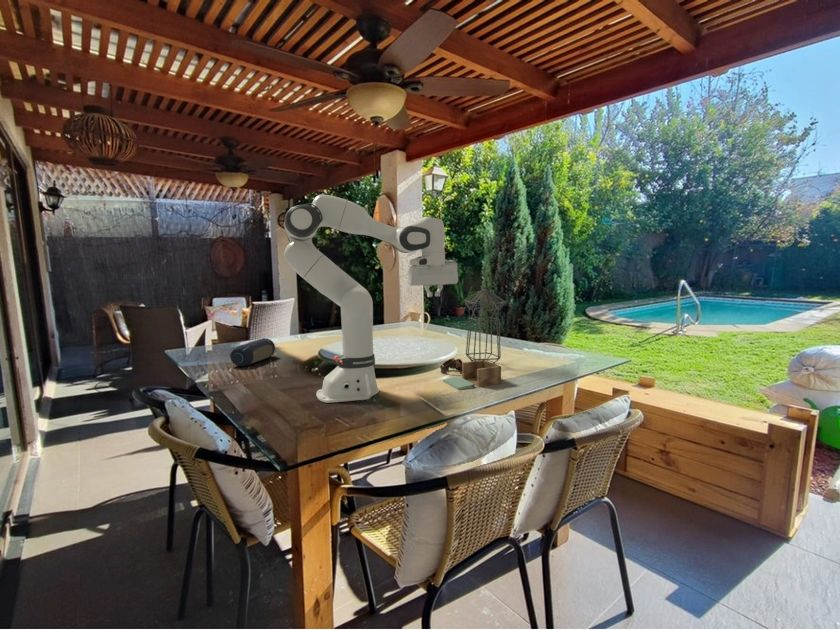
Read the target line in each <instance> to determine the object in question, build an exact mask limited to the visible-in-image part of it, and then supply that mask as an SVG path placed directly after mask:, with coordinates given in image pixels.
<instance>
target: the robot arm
mask: <svg viewBox="0 0 840 630" xmlns="http://www.w3.org/2000/svg"><path fill="white" fill-rule="evenodd" d="M367 211H368V210H366V208H365V207H363V206H361V205H359V204H357V203H356V202H353V201H350V200H347V199H345V198H341V197H338V196H334V195H328V194H323V193H322V194H318V195H316V196H315V198H314V199H313V200H312V202H311V203H304V204H298V205H295V206H292V207H291V208H289V209H288V210H287V211H286V213H285V216H284V222H283V226H284V227H283V228H284V231H285V235H286V237H287V240H288V242H289V243H288V244H287V246H285V247H284V248H285V249H284V252H283V258H284V260H285V262H286V263H287V264H288V266H289V267H290V268H292V270H293V271H294V272H295V273H297V275H299V276H300V277H301V278H302V279H303V280H304V281H306V282H307V283H308V284H310V286H312V287H313V288H314V289H316V290H317V291H318V292H319V293H320V294H322V295H323V296H325V297H327V298H328V299H329V300H330V301H332V302H333V303H334V304H336V305H337V306H339V307H340V319H341V321H340V322H341V341H342V342H341V343H342V355H341V356H339V355H335V356H334V357H333V361H335V362H336V363H337V365H336V367H335V368H334V369H332V370H331V371H330V372H329V373H328V374H327V375H326V376H324V378H323V382H322V388H321V389H318V390H317V391H316V392H315V393H316V397H317V399H318V401H320V402H323V403H328V404H329V403H330V404H331V403H339V402H340V403H341V402H352V401H354V402H355V401H365V400H369V399H371V397H373V396H375V395H376V394H378V393H379V392H380V389H379V388H378V387H379V386H378V383H377V380H376V379H377V378H376V373H375V368H376V357H375V353H374V332H373V331H374V329H373V328H374V306H373V305H374V304H373V303H374V301H373V298H372V295H371V294H370V292H369V291H368V290H367V288H365V287H364V286H362V285H361V284H360V283H359V282H358V281H356V280H355V279H354V278H353V277H351V276H350V275H349V274H348V273H346V272H345V271H344V269H342V268H340V267H339V266H338V265H337V264H335V262H333V261H332V260H331V259H330V258H328V257H327V256H326V255H325V254H324V253H322V252H321V251H320V250H319V249H318V248H317V247H316V246H315V245H314V243H313V240H314V238H315V236H316V233H317V232H318V230H319V228H322V227H327V228H329V227H330V228H332V229H334V230H337V231H340V232H343V233H347V234H352V235H361V236H370V237H372V238H375V239H378V240H381V241H383V242H386V243H388V244H390V245H391V246H392V247H394V249H395V250H397V251H398V252H400V253H402V254H409V253H413V252H416V251H418V250H419V251H421V255H420V256H417V257H414V258H412V259H410V260H409V265H410V267H409V268H408V271H407V283H408V285H409V286H414V287H415V286H416V287H418V286H423V288H424V290H425V292H426V296H427V297H428V298H432V297H433V292H431V290H430V288H431V286H436V287H437V290H436V291H434V297H436V298H437V297H441V292H442V290H443V288H444V285H456V284H458V283H459V273H458V262H456V261H455V260H453V259H450V260H449V259H446V250H445V240H446V236H445V235H446V233H445V225H444V221H443V219H441V218H439V217H436V216H430V215H429V216H428V215H425V216H424V217H422V218H421V219H420V220H418V221H416V222H413V223H411V224H409V225H406V226H403V227H402V226H401V227H395V226H391V225H388V224H387V223H384V222H381V221H379V220H376V219H375V218H373V217H372V216H371V215H370V214H369V213H368V212H367Z"/></svg>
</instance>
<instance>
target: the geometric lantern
mask: <svg viewBox="0 0 840 630" xmlns="http://www.w3.org/2000/svg"><path fill="white" fill-rule="evenodd" d="M471 298H472V299H471ZM480 298H481V299H480ZM487 298H488V299H487ZM470 299H471V300H470ZM462 301H463V302H464V303H465V305H466V306H467V309H468V322H467V323H468V325H467V326H468V327H467V336H466V347H465V348H466V349H465V356H466V357H467V358H468V359H469V360H470V362H471V361H478V360H485V361H488V362H491V363H493V364H496V363H497V362H498V361H500V359H501V357H502V356H501V319H499V317H498V315H497V313H499V310H502V308H503V307H504V306H505V305H506V304H508V302H507V301H506V300H505V299H503V298H501V297H500V296H498V294H497V295H496V294H495V293H494V292H492V291H491V290H489V289H486V288H483V289H481V290H479V291H478V292H476V293H474V294H472V295H470V296H468V297H466V298H465V299H463V300H462ZM490 302H491V303H490ZM477 304H478V305H480V306H477ZM489 305H490V306H492V307H493V309H492V308H491V309H490V308H489ZM477 308H478V309H481V310H482V311H483V314H481V316H476V314H475V311H476V309H477ZM470 311H472V314H471V315H470ZM492 311H493V313H492V314H491V316H488V315H487V313H486V312H492ZM496 312H497V313H496ZM484 315H485V316H484ZM494 315H495V317H494ZM482 318H483V319H482ZM484 318H487V319H484ZM481 319H482V320H481ZM473 320H474V321H475V328H474V329H475V331H474V343H473V352H472V353H471V352H470V345H471V335H472V326H473ZM494 321H496V344H497V345H496V346H497V355H496V354H494V353H493V322H494ZM478 322H479V323H478ZM481 322H486V335H485V336H486V337H485V349H484V350H485V351H484V352H481V338H482V337H481V328H482V327H481ZM489 322H490V352H487V351H488V350H487V349H488V348H487V347H488V336H489V334H488V333H489V332H488V331H489ZM478 324H479V325H478ZM477 327H478V328H479V329H478V328H477ZM477 329H478V330H479V333H478V334H479V335H478V336H479V339H478V344H479V345H478V347H479V348H478V350H479V351H478V352H476V342H477ZM482 354H483V355H484V358H481V357H482V356H481V355H482ZM487 354H488V355H489V356H487ZM470 355H473V357H472V356H470ZM476 355H479V356H478V357H479V358H475V356H476ZM486 356H487V357H486ZM491 356H495V357H496V358H493V357H492V358H490V357H491ZM494 360H495V361H494Z"/></svg>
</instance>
